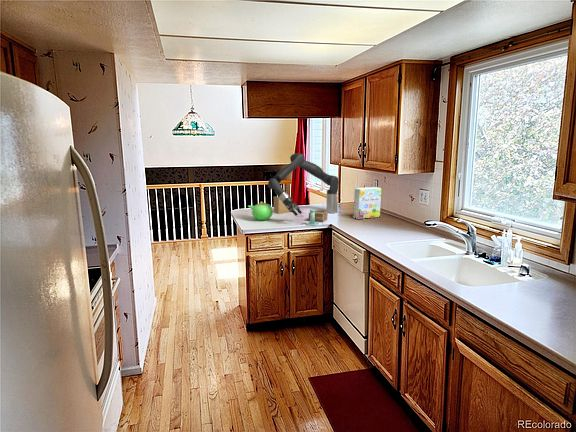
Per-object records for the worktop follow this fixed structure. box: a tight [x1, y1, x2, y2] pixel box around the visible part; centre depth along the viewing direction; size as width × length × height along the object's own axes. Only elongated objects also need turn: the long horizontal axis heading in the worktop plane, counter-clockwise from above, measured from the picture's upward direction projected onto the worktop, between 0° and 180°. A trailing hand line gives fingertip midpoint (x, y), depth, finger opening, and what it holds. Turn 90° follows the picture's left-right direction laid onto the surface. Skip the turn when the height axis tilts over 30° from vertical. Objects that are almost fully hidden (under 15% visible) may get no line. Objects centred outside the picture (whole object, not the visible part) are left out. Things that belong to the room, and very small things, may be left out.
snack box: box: [352, 186, 383, 220], centre depth 331 cm, size 22×9×26 cm, turn 112°
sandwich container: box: [273, 196, 291, 215], centre depth 358 cm, size 9×15×15 cm, turn 123°
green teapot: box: [247, 201, 274, 221], centre depth 327 cm, size 18×17×15 cm
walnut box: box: [308, 209, 329, 223], centre depth 325 cm, size 12×12×7 cm
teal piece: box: [305, 209, 320, 227], centre depth 309 cm, size 8×8×12 cm
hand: (299, 214), depth 313 cm, fingers open, 8 cm apart
